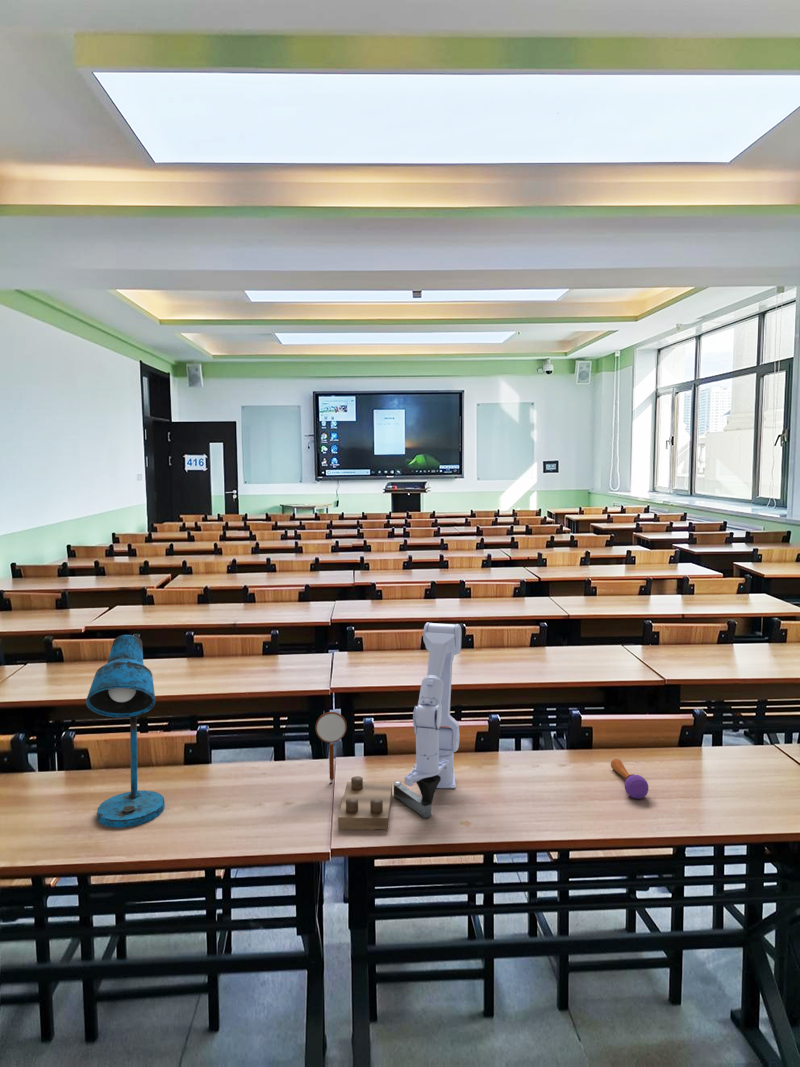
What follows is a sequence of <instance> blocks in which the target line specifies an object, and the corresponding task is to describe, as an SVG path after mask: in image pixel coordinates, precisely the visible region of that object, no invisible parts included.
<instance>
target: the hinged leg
mask: <svg viewBox="0 0 800 1067" xmlns="http://www.w3.org/2000/svg"><path fill="white" fill-rule="evenodd" d="M393 796H394V797H395V798H397V799H398V801H401V802H402V803H403V804H404V805H406V806H407V807H409V808H410V809H411V810H413V811H414V812H415V813H417V814H418V815H420V816H421V817H422V818H423V819H426V818H429V817H432V804H430V803H428V802H427V801H426V800H424V799H423V798H422V796H420V795H419V794H417V793H416V792H415V791H413V790H411V789H410V788H408V787H407V785H405V784H403V783H402V781H401V780H394V781H393Z"/></svg>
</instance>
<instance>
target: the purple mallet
mask: <svg viewBox="0 0 800 1067" xmlns="http://www.w3.org/2000/svg"><path fill="white" fill-rule="evenodd" d="M610 767H611V769H613V771H615V772H616V773H617V774H619V775H621V776H622V777H623V778H624V791H625V793H626V794H627V795H628V796H629V797H630V798H632V799H634V800H635V799H636V800H637V799H638V800H641V799H643V798H645V797H646V796H647V794H648V792H649V783H648V781H647V780H646V779H645V778H644V777H643V776H641V775H639V774H634V773H633V774H629V772H628V771H627V769H626V767H625V765H624V763H623V762H622V761H621V759H620V758H614V759H612V760H611V762H610Z"/></svg>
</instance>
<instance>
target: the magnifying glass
mask: <svg viewBox="0 0 800 1067" xmlns="http://www.w3.org/2000/svg"><path fill="white" fill-rule="evenodd" d="M314 727H315V733H316V735H317V737H318V738H319V740H321V741H322V742H324V743H329V744H328V746H329V747H328V748H329V749H328V751H329V753H328V756H329V759H328V760H329V761H328V762H329V763H328V764H329V781H330V783H334V779H335V764H334V762H335V761H334V760H335V759H334V758H335V756H334V754H335V753H334V750H335V749H334V746H335V745H334V743H336V742H339V741H341V740H342V738H344V736H345V734H347V730H348V729H347V728H348V725H347V720H346V719H345V717H344V716H343V715H342V714H340V713H338V712H335V711H328V712H325V713H323V714H321V715H320V716H319V717H318V719H317V720H316V723H315V725H314Z"/></svg>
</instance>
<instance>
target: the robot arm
mask: <svg viewBox="0 0 800 1067" xmlns="http://www.w3.org/2000/svg"><path fill="white" fill-rule="evenodd" d="M462 634H463V633H462V627H461V625H460V624H459V623H440V622H439V623H435V622H434V623H433V622H426V623H425V624H424V627H423V632H422V638H423V643H424V645H425V649H426V651H427V652H428V662H427V663H428V664H427V674H426V676H425V677H424V678H423V679H421V682H420V683H421V684H420V690H419V696H418V697H419V698H418V701H417V705H415V706H414V707H413V708H414V709H413V712H412V713H413V714H412V722H413V728H414V730H413V731H414V735H415V764H414V765H413V769H412V770H411V771H410V772H409V773H408V774H406V775H405V776H404V785H405V786H408V787H412V786H414V784H415V783H416V785H417V787H418V788H419V791H420V794H421V798H423V799H424V800H426V801H427V802H428V803H430V804H431V805H432V804H433V799H434V797H435V793H436V790H437V789H456V775H455V772H454V770H455V769H454V768H455V767H454V766H455V764H454V762H455V761H454V760H455V759H454V758H455V757H454V756H455V754H454V753H456V752H457V751H458V750H459V745H460V737H461V736H460V725H459V722H458V721H457V720H456V719H455V718H454V717H453V716H452V715H451V695H452V680H453V679H452V674H453V662H454V657H455V656H456V655H458V654H460V653H461V650H462Z"/></svg>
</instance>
